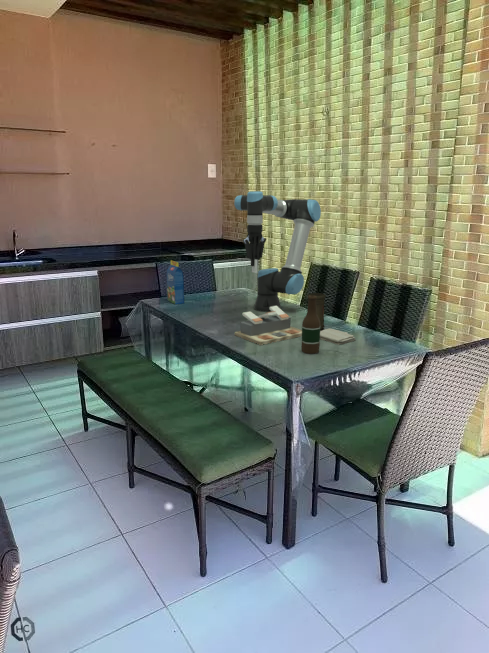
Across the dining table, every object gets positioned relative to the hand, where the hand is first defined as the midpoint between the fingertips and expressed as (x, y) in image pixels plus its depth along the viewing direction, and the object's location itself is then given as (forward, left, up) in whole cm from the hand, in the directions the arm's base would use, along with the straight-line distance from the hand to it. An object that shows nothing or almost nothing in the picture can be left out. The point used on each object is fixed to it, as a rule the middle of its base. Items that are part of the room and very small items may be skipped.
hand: (254, 272), depth 247 cm
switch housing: (+6, +17, -25) cm, 31 cm away
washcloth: (-14, +42, -27) cm, 52 cm away
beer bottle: (+8, +50, -27) cm, 57 cm away
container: (-16, +28, -27) cm, 42 cm away
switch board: (+6, +21, -26) cm, 34 cm away
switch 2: (-2, +16, -19) cm, 25 cm away
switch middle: (+6, +18, -19) cm, 27 cm away
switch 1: (+14, +17, -19) cm, 29 cm away
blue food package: (+8, -69, -27) cm, 74 cm away
